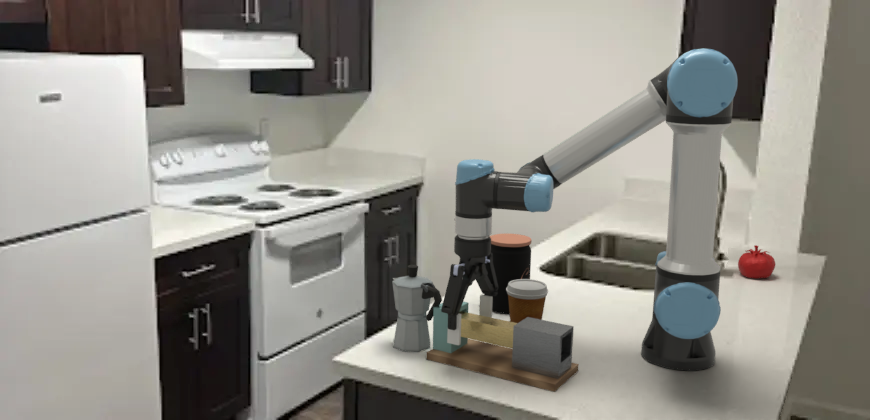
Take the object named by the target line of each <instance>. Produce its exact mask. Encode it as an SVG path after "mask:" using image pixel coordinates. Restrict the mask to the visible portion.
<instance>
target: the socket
mask: <svg viewBox="0 0 870 420" xmlns="http://www.w3.org/2000/svg"><path fill="white" fill-rule="evenodd" d="M442 305H443V302H441V303H440V305H439V306H437V307H434V308H433V317H432V321H433V322H432V349H435V350H439V351H444V352H448V353H452V352H454V351H456V350H457V349H459V348H461V347H462V346H464V345H465V344H467V341H468V339H469V338H464V337H461V344H460V345H454V344H450V343H447V332H448V314H447V313H443V312H441V309H442ZM469 306H470V305H469V302H468V301H463V303H462V306H461V309H460V311H462V312H467V313H469ZM460 311H459V312H460Z"/></svg>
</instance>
